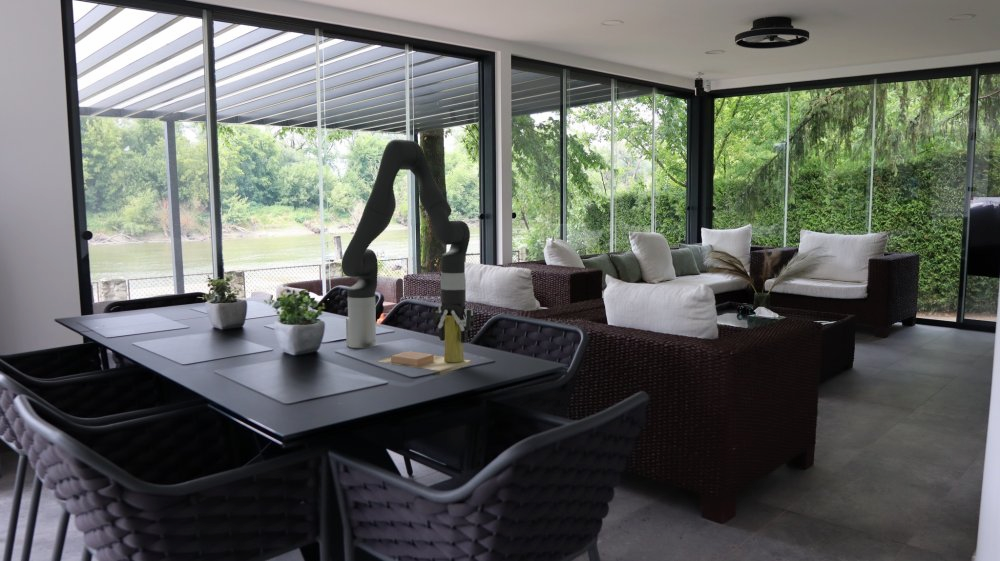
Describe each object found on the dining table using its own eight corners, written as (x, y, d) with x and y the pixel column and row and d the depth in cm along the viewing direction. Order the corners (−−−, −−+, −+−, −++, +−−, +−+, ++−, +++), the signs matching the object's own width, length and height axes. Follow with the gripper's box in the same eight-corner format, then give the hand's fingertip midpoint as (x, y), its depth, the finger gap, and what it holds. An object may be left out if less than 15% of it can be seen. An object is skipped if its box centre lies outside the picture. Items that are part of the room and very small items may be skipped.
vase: (454, 363, 217) (453, 316, 216) (439, 361, 221) (438, 314, 219) (468, 360, 222) (467, 313, 220) (453, 357, 226) (452, 312, 224)
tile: (390, 355, 219) (417, 359, 214) (407, 351, 226) (433, 354, 220) (390, 362, 219) (417, 366, 214) (407, 357, 226) (433, 361, 221)
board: (375, 365, 221) (375, 361, 221) (408, 355, 235) (408, 352, 234) (440, 374, 209) (440, 370, 208) (470, 364, 222) (470, 360, 222)
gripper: (426, 287, 219) (426, 341, 221) (466, 290, 212) (466, 346, 214) (440, 284, 226) (441, 337, 227) (480, 287, 218) (480, 342, 220)
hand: (453, 341), depth 221 cm, fingers open, 7 cm apart
